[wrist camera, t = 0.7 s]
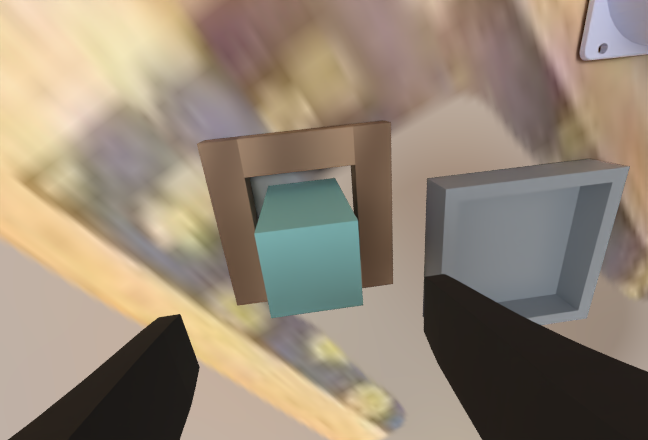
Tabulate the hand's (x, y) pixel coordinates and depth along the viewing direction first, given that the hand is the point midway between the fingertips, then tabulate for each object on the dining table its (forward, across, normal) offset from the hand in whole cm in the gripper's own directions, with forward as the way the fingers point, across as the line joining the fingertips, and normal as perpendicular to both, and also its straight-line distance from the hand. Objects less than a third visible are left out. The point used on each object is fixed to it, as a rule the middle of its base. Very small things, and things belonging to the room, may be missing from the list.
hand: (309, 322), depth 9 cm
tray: (+10, -13, +5) cm, 17 cm away
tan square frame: (+10, 0, 0) cm, 10 cm away
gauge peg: (+10, 0, 0) cm, 10 cm away
